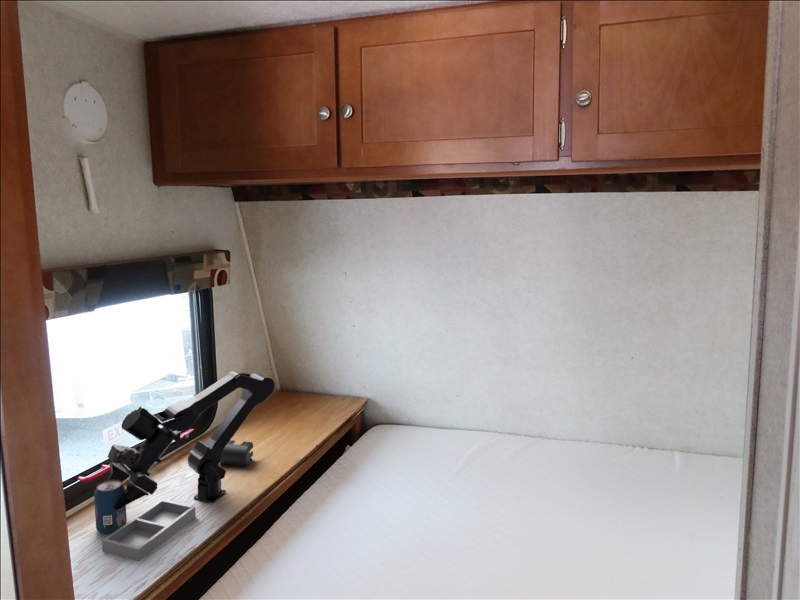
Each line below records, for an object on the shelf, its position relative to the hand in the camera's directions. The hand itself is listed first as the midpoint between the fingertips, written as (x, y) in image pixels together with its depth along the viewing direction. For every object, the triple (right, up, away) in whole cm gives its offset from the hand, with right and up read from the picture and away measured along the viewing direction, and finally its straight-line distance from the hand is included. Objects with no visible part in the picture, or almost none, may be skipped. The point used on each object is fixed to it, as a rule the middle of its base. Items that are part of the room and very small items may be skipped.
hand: (109, 501), depth 146 cm
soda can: (0, -8, +2) cm, 8 cm away
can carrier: (+11, -8, 0) cm, 13 cm away
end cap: (+20, -2, +40) cm, 45 cm away
